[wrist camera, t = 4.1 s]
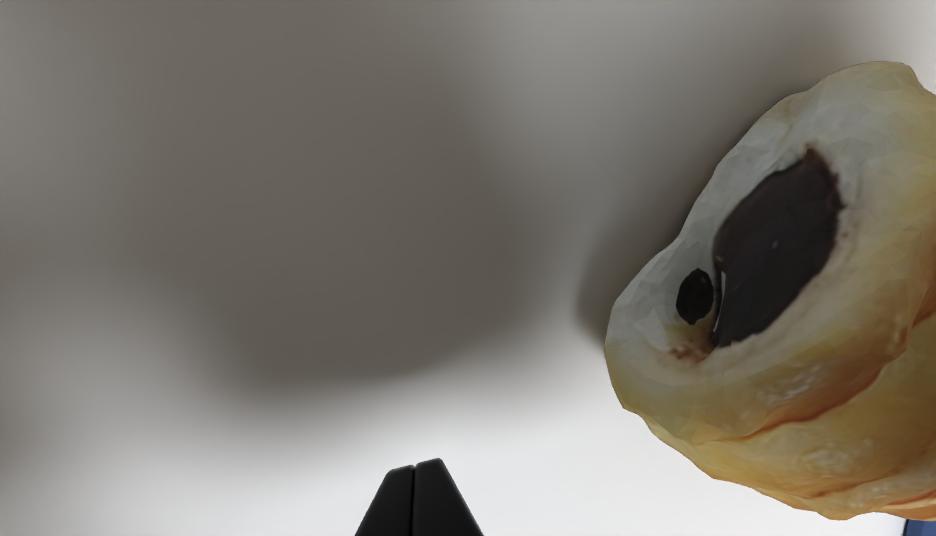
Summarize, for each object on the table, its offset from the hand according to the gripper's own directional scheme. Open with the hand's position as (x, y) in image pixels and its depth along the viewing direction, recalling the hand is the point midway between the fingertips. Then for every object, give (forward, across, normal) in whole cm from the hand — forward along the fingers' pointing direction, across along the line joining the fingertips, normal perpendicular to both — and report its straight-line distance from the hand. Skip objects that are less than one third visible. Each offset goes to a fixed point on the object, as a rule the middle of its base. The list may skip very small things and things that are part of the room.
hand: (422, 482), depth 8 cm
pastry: (+2, -8, 0) cm, 8 cm away
